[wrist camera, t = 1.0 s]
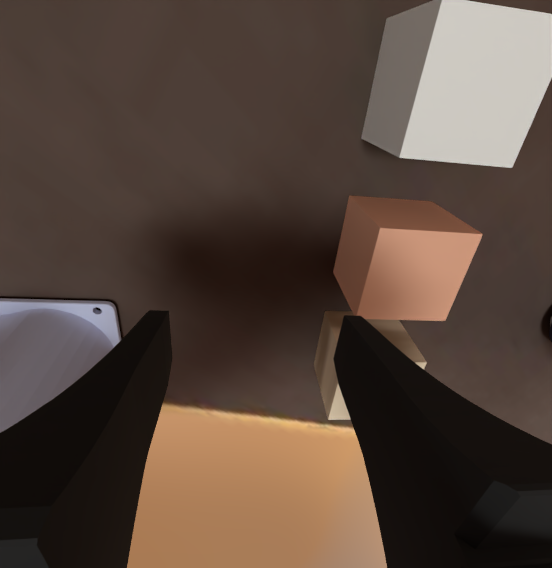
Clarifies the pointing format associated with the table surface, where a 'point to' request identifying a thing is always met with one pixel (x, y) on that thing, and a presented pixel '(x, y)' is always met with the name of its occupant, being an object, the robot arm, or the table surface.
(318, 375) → the birch block
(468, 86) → the light grey block
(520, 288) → the table surface
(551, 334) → the beverage can
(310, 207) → the table surface
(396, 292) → the terracotta block
